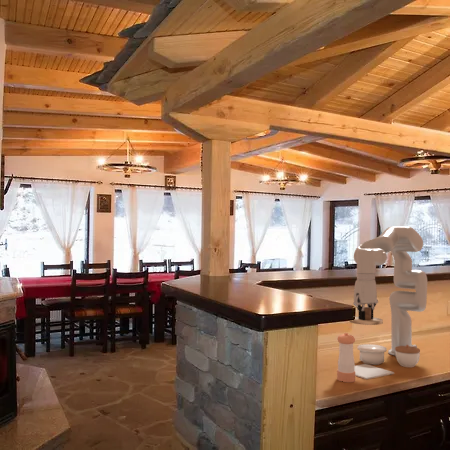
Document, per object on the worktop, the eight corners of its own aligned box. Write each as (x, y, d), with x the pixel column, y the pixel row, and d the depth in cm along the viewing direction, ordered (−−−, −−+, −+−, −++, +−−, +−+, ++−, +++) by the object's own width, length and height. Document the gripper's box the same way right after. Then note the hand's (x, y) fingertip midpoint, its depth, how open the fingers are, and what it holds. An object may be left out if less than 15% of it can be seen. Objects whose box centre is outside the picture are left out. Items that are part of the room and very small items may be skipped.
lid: (364, 318, 222) (364, 304, 222) (389, 323, 210) (389, 308, 210) (342, 320, 214) (342, 306, 215) (367, 325, 202) (367, 311, 203)
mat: (365, 365, 223) (365, 363, 223) (394, 373, 209) (394, 372, 209) (338, 370, 214) (338, 368, 214) (366, 379, 200) (366, 378, 200)
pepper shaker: (341, 376, 205) (341, 330, 205) (357, 379, 201) (357, 332, 201) (334, 380, 199) (334, 333, 199) (351, 383, 195) (351, 335, 195)
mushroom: (370, 357, 237) (370, 343, 237) (392, 363, 226) (392, 348, 226) (351, 361, 230) (351, 346, 230) (373, 367, 219) (373, 351, 219)
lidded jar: (408, 369, 216) (408, 348, 216) (390, 364, 225) (389, 343, 225) (425, 366, 221) (425, 346, 221) (406, 361, 230) (406, 341, 230)
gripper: (372, 276, 220) (372, 316, 220) (345, 277, 211) (345, 319, 211) (385, 277, 214) (385, 319, 213) (358, 278, 205) (358, 322, 204)
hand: (365, 318), depth 212 cm, fingers closed on lid, 4 cm apart
